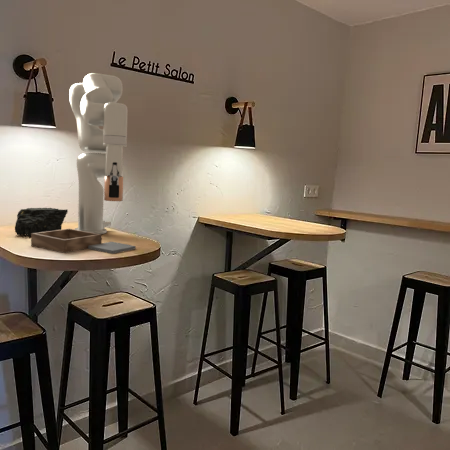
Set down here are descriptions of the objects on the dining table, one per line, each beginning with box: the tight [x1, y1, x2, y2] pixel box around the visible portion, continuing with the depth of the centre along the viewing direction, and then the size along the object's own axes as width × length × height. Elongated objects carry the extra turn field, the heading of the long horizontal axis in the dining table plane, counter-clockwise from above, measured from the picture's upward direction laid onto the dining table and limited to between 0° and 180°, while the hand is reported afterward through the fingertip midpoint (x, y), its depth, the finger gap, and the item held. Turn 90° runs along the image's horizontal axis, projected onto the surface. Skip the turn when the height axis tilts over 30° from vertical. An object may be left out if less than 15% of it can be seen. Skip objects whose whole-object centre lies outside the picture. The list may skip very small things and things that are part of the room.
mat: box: [87, 241, 137, 255], centre depth 152 cm, size 11×11×1 cm
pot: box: [103, 175, 124, 202], centre depth 149 cm, size 6×6×8 cm
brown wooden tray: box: [30, 228, 103, 253], centre depth 153 cm, size 16×16×4 cm
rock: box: [14, 207, 69, 237], centre depth 171 cm, size 18×10×15 cm
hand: (113, 196), depth 150 cm, fingers closed on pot, 6 cm apart
